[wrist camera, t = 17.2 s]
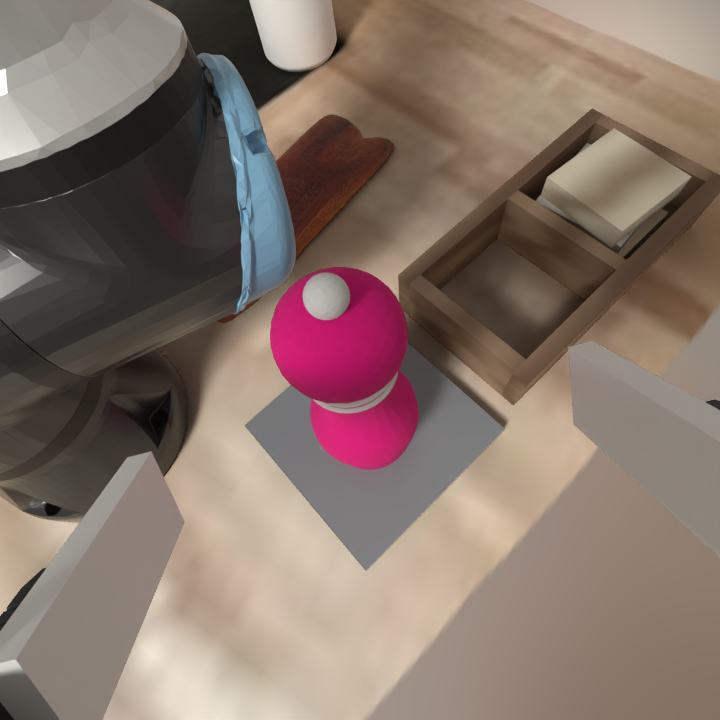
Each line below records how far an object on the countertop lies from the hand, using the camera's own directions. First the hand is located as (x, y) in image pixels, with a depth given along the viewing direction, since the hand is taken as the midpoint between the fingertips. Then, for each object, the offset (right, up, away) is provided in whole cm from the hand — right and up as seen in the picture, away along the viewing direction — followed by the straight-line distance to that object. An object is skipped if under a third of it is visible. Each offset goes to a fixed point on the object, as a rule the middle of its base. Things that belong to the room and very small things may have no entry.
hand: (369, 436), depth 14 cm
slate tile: (+1, -3, +21) cm, 22 cm away
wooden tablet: (-8, +17, +32) cm, 37 cm away
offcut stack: (+20, +14, +27) cm, 36 cm away
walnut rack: (+16, +11, +25) cm, 32 cm away
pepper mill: (0, -3, +21) cm, 21 cm away
